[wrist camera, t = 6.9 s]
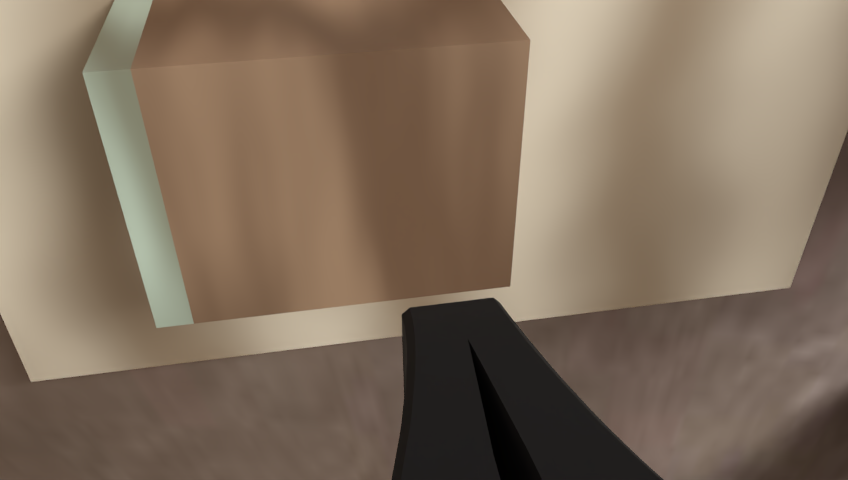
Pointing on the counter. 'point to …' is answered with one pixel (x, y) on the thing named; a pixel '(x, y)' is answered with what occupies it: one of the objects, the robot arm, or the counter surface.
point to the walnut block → (311, 149)
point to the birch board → (537, 192)
